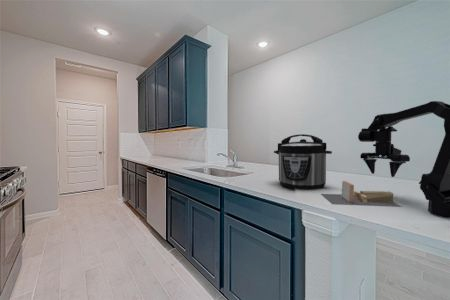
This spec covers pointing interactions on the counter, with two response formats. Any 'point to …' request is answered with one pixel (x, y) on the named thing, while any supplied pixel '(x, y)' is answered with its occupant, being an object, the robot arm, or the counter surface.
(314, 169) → the pressure cooker
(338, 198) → the charcoal mat
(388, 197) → the beech scraper
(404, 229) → the counter surface
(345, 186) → the terracotta tile
